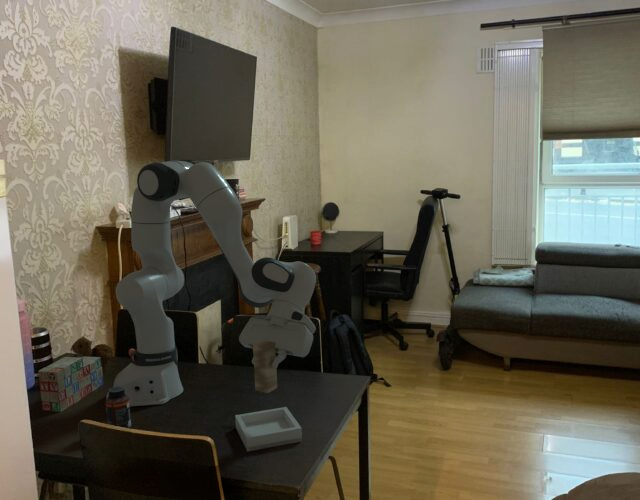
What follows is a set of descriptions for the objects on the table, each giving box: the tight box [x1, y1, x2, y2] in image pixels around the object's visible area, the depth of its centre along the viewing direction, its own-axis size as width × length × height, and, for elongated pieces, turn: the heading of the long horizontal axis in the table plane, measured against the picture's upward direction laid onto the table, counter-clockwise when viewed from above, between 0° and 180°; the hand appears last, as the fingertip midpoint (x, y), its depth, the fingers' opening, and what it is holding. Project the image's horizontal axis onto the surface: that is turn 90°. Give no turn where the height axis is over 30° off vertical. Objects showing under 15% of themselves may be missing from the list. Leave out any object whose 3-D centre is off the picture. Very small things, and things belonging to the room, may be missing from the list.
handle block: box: [252, 340, 278, 394], centre depth 156 cm, size 4×4×12 cm
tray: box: [234, 406, 303, 452], centre depth 158 cm, size 14×14×4 cm
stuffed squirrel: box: [69, 335, 114, 373], centre depth 205 cm, size 10×14×13 cm
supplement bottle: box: [105, 386, 132, 429], centre depth 163 cm, size 6×6×11 cm
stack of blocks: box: [37, 356, 104, 413], centre depth 186 cm, size 21×6×12 cm, turn 166°
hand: (263, 365), depth 155 cm, fingers closed on handle block, 4 cm apart
